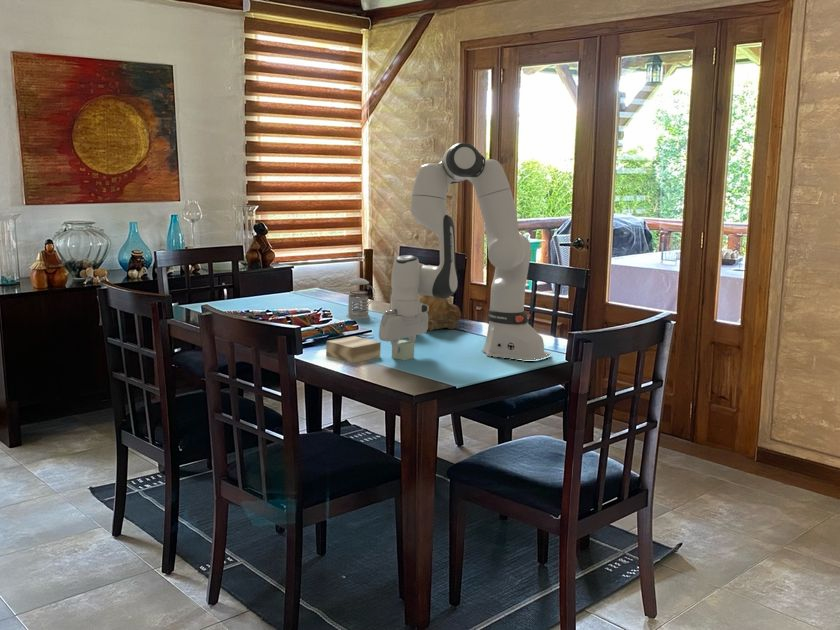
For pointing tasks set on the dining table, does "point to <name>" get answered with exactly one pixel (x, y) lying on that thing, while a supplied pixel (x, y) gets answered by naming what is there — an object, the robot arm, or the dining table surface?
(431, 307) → the rough brown rock
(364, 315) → the french press
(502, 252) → the robot arm
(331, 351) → the maple block
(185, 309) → the dining table surface
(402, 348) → the sage cube
